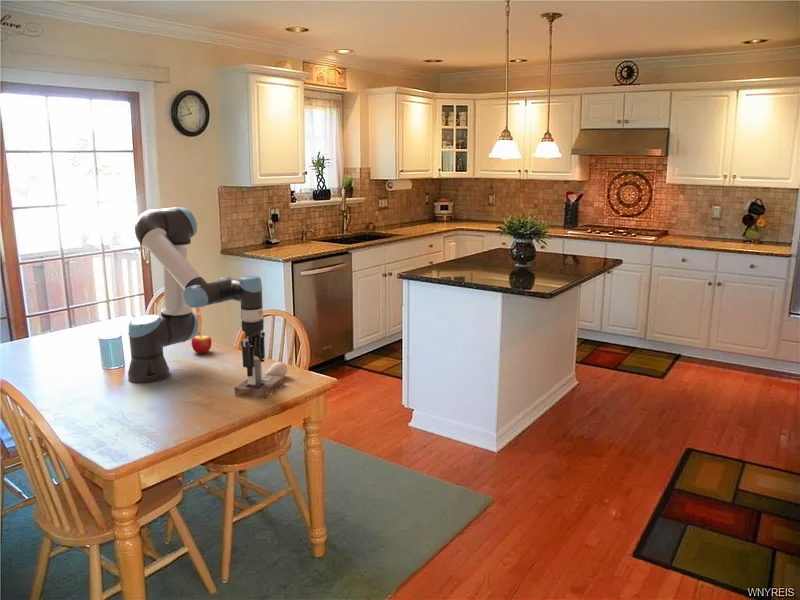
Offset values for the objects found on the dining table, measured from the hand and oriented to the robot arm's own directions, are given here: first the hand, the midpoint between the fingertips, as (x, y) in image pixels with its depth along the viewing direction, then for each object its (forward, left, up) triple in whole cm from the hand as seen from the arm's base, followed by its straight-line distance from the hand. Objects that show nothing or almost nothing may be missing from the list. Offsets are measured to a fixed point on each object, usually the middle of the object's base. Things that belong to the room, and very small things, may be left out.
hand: (255, 381), depth 232 cm
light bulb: (0, +16, -5) cm, 16 cm away
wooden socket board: (0, +3, -4) cm, 6 cm away
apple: (-45, +36, -5) cm, 58 cm away
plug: (0, 0, -4) cm, 4 cm away
